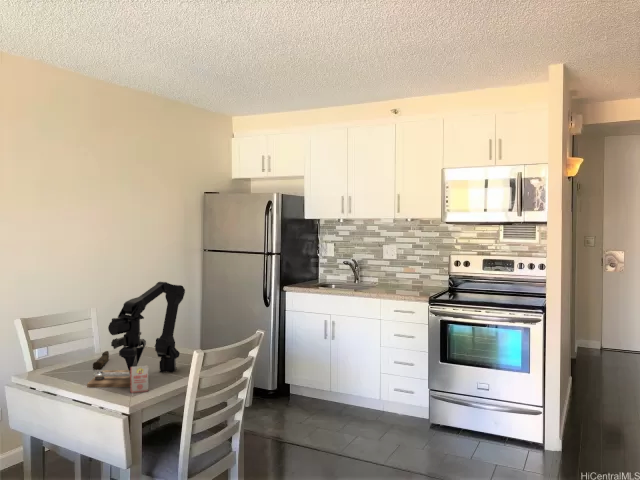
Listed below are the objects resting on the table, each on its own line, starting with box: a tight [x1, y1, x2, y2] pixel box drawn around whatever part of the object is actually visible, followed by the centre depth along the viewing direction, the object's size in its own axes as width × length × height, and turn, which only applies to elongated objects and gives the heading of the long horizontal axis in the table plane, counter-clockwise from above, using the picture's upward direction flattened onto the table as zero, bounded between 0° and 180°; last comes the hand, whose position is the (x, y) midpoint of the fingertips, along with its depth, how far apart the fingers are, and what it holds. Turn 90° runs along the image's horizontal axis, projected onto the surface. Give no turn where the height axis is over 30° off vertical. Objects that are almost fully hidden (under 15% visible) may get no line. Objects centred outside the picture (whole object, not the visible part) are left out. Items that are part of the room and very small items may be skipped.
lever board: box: [86, 369, 131, 388], centre depth 231 cm, size 20×19×3 cm
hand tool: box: [92, 350, 110, 371], centre depth 255 cm, size 19×4×5 cm, turn 5°
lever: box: [92, 356, 138, 378], centre depth 227 cm, size 18×4×8 cm, turn 93°
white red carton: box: [130, 365, 149, 394], centre depth 217 cm, size 4×7×10 cm, turn 108°
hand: (133, 367), depth 227 cm, fingers open, 9 cm apart
